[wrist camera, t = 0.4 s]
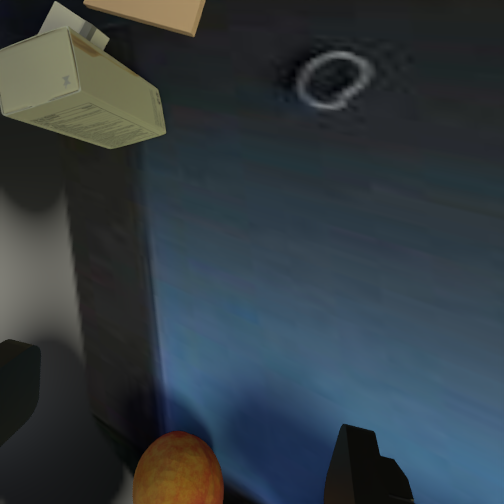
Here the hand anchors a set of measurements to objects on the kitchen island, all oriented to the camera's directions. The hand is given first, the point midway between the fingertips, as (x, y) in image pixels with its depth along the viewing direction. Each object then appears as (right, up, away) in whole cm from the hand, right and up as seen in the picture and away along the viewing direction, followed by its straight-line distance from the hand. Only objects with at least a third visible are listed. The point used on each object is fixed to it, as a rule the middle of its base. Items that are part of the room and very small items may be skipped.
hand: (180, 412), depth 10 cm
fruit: (-4, -15, +28) cm, 32 cm away
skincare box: (-9, +16, +27) cm, 33 cm away
